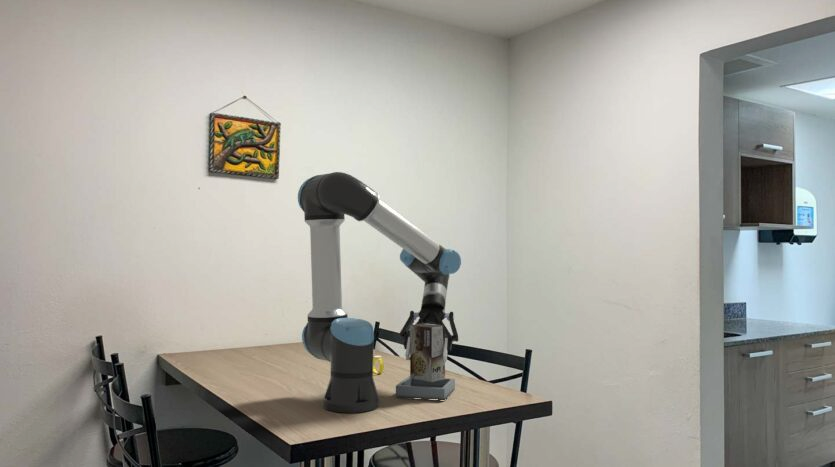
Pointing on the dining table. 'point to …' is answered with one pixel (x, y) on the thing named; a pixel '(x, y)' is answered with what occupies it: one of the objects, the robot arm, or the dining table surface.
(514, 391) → the dining table surface
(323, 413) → the dining table surface
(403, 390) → the tray
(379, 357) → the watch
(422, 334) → the coffee box
